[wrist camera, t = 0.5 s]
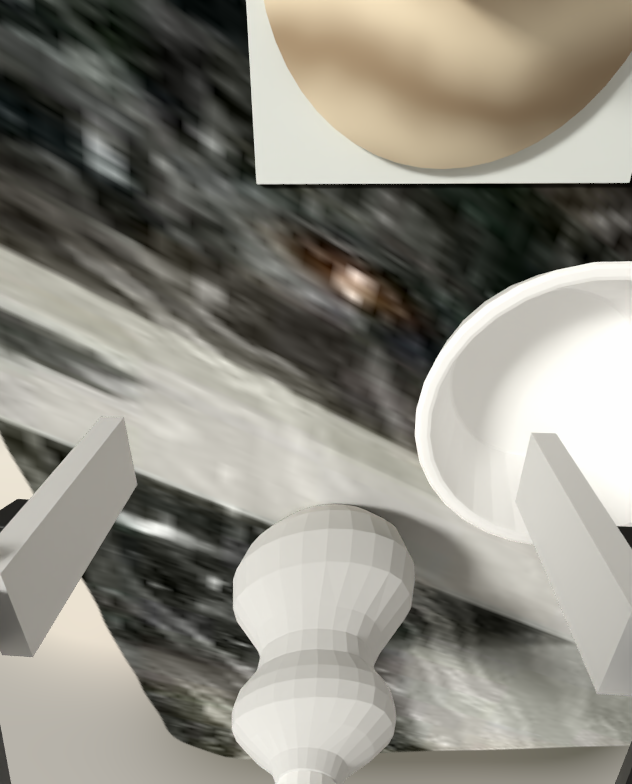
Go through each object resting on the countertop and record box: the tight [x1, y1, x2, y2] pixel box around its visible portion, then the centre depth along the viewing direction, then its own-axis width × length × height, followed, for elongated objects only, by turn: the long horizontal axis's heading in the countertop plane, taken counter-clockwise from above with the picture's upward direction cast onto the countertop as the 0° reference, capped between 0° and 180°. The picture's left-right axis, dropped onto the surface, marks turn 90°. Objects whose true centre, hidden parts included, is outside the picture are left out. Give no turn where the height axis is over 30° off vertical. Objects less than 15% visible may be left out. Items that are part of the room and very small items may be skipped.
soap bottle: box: [232, 504, 415, 784], centre depth 39 cm, size 17×12×29 cm
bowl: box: [415, 261, 632, 545], centre depth 39 cm, size 22×22×8 cm
